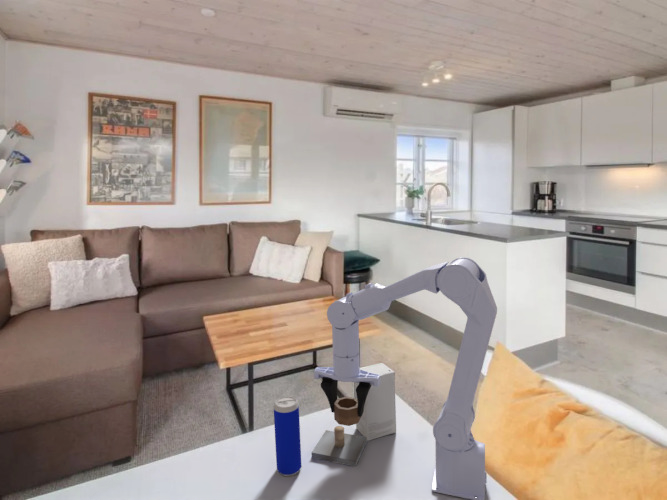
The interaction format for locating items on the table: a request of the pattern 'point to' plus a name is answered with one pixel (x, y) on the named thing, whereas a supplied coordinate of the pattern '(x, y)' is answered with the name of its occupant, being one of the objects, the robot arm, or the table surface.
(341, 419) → the walnut ring
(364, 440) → the dowel stand
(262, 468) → the table surface
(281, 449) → the beverage can
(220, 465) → the table surface
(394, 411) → the skincare box
